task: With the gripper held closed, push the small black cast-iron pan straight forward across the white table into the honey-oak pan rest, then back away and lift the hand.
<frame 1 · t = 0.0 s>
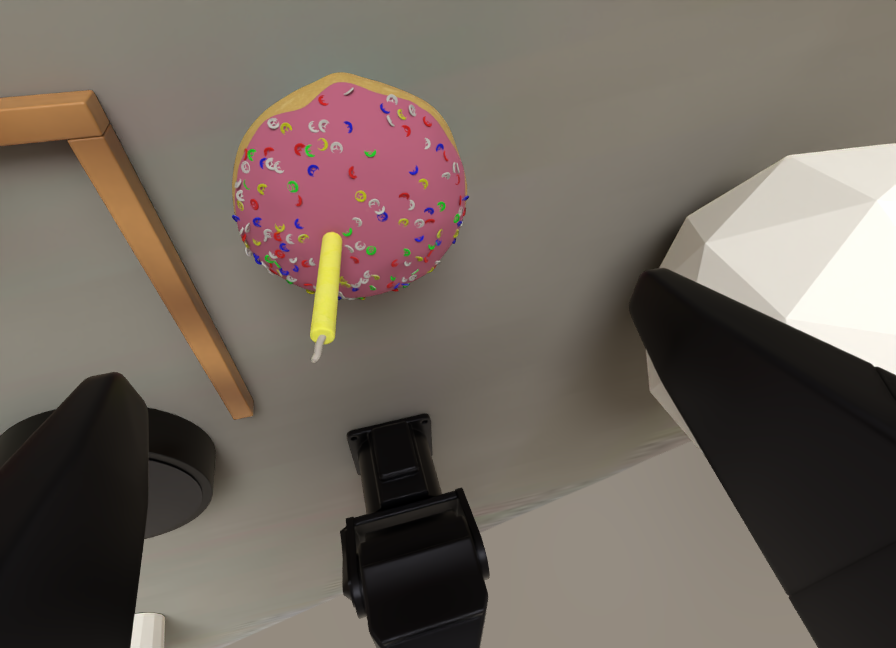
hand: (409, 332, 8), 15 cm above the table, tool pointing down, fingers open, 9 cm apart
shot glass: (134, 620, 50), on the table
cupcake: (342, 146, 21), on the table
pan: (114, 459, 31), on the table
geometric orb: (721, 233, 31), on the table
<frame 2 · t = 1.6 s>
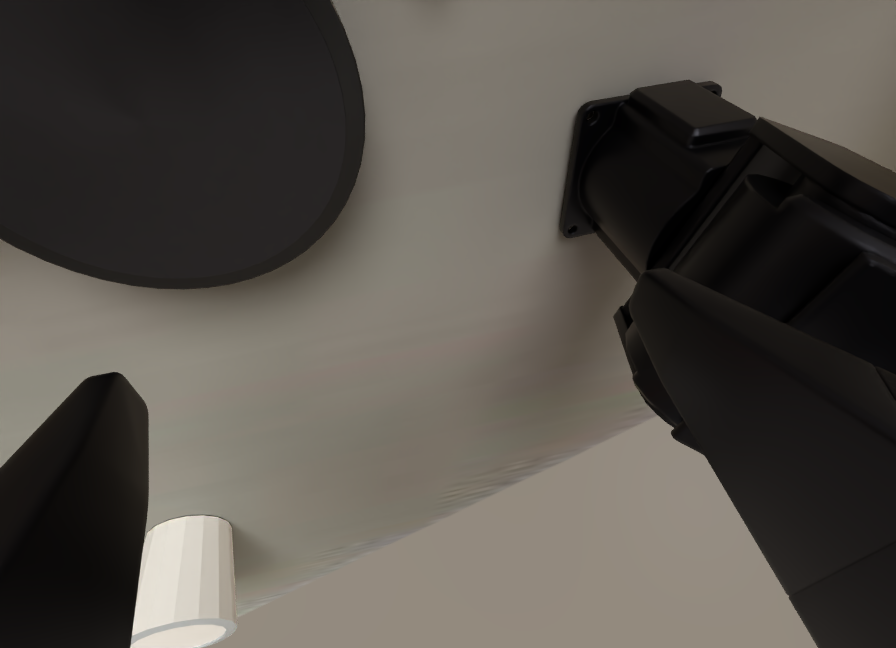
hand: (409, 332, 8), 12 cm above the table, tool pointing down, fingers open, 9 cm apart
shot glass: (190, 530, 35), on the table
pan: (160, 83, 15), on the table
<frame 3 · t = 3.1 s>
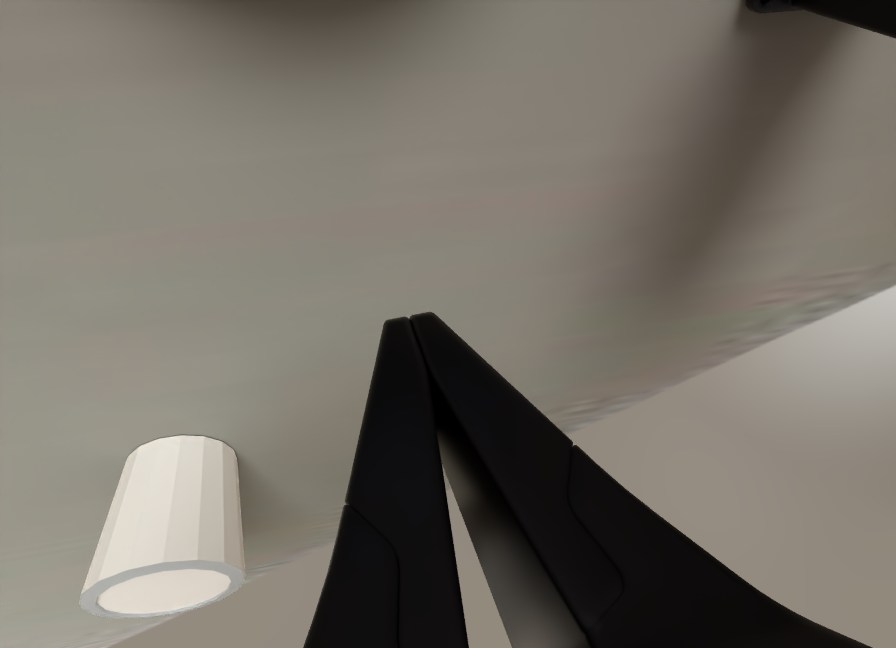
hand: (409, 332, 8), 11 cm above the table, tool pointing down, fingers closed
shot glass: (184, 459, 27), on the table
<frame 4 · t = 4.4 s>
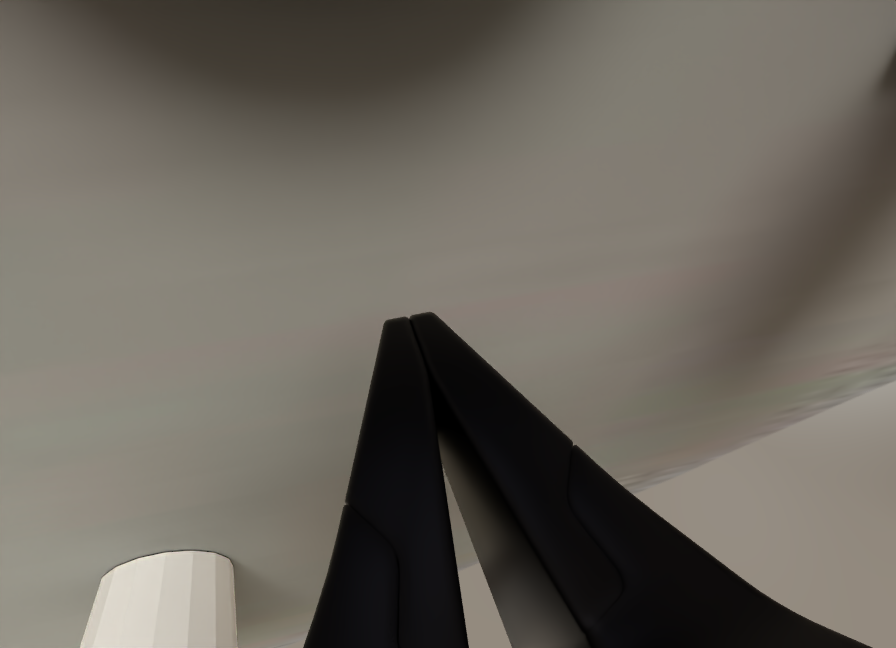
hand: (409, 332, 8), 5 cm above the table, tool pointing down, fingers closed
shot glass: (170, 571, 23), on the table
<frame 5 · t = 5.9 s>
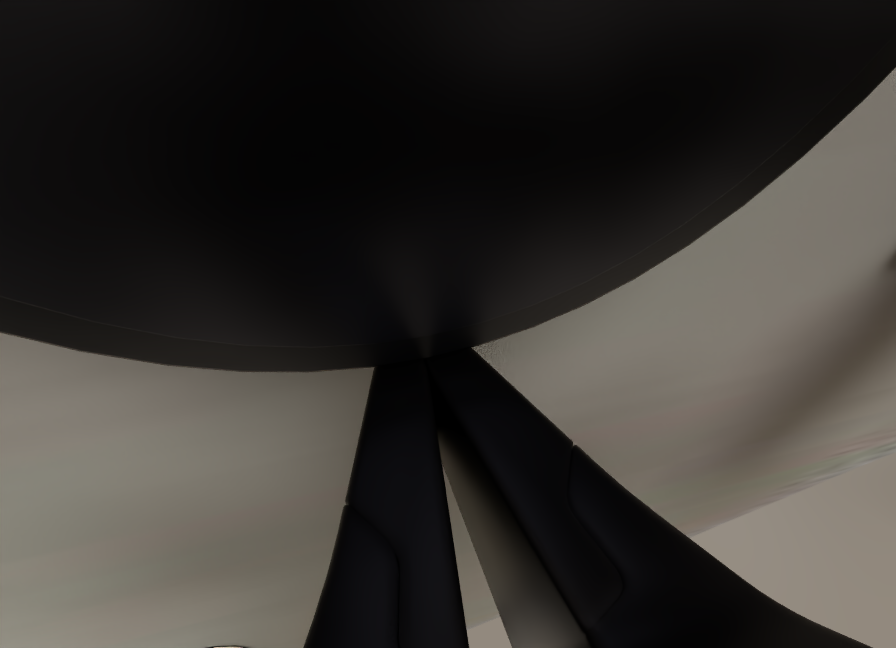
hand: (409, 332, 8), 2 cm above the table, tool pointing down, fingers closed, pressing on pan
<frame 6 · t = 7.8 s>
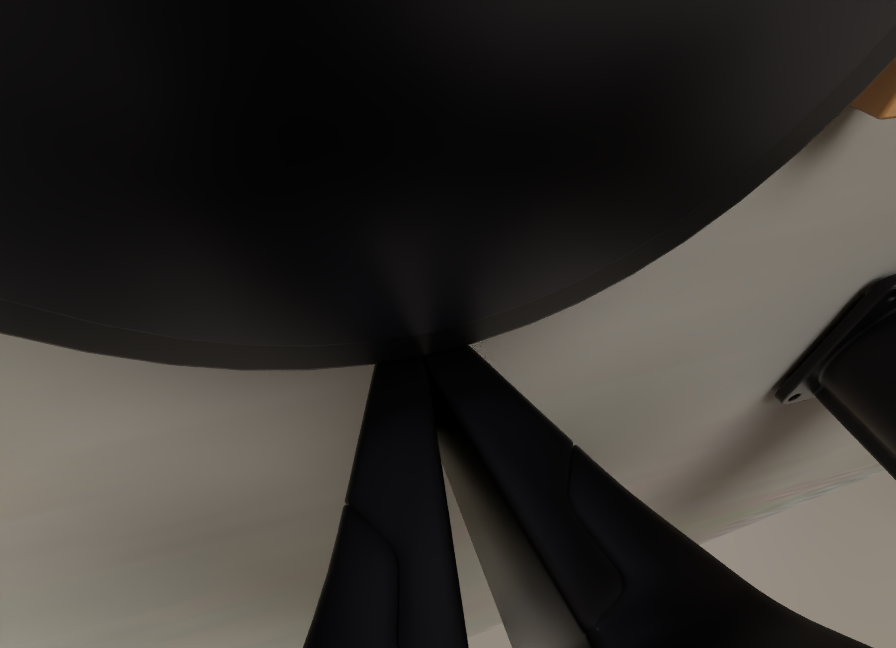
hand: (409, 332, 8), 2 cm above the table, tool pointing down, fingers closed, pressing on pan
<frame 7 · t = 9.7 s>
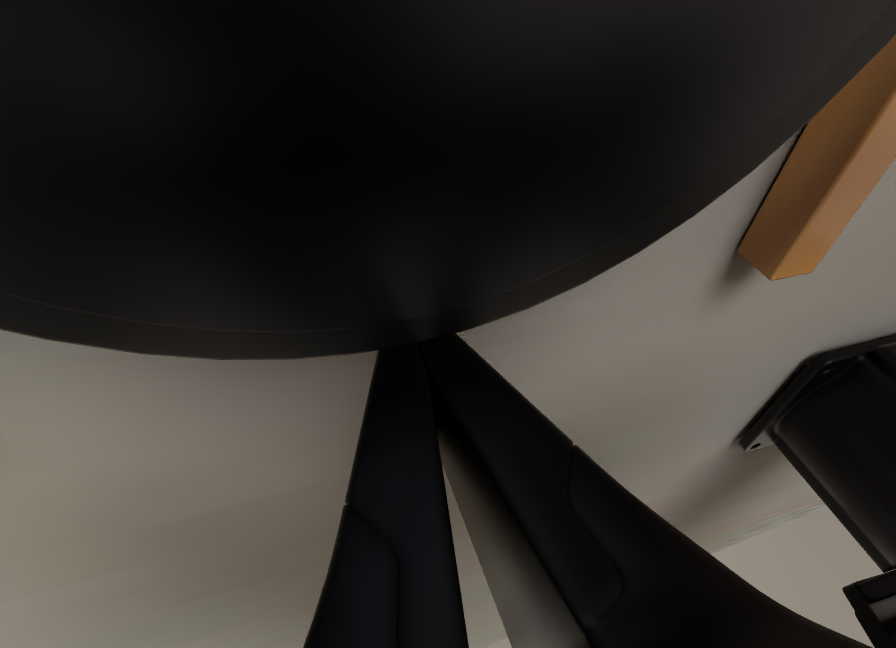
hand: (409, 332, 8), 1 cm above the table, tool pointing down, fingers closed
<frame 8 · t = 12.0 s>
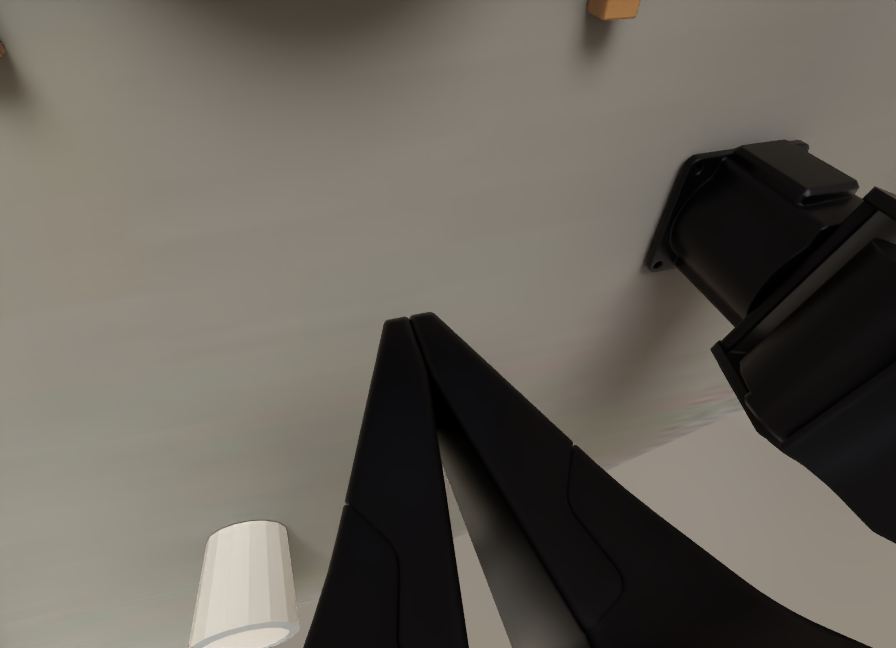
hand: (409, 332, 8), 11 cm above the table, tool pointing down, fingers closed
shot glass: (248, 535, 36), on the table
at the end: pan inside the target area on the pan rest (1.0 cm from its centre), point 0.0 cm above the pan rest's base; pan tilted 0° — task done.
